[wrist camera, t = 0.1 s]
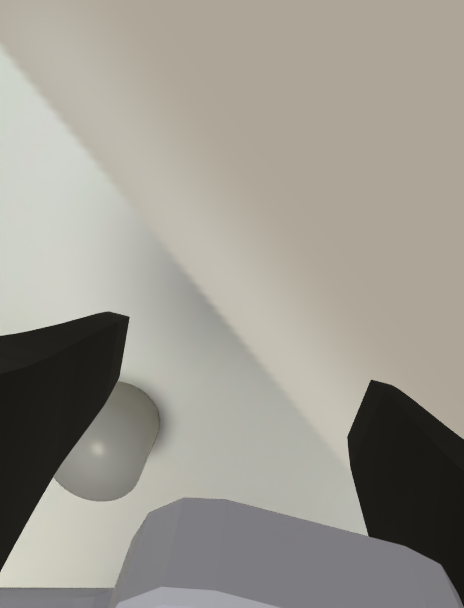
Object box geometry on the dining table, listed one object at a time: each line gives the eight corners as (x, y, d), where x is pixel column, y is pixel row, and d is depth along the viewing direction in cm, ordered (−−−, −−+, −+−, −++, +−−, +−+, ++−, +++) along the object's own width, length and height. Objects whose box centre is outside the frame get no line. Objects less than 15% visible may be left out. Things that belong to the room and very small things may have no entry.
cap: (152, 460, 26) (132, 511, 22) (75, 440, 26) (41, 487, 22) (166, 393, 24) (147, 436, 20) (84, 371, 24) (49, 410, 20)
